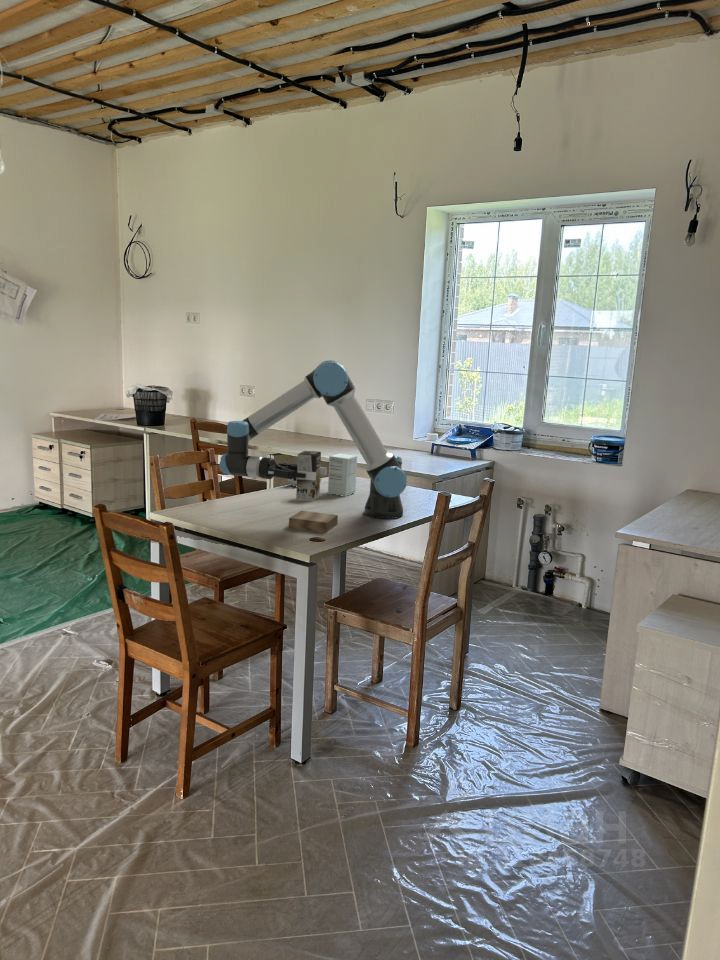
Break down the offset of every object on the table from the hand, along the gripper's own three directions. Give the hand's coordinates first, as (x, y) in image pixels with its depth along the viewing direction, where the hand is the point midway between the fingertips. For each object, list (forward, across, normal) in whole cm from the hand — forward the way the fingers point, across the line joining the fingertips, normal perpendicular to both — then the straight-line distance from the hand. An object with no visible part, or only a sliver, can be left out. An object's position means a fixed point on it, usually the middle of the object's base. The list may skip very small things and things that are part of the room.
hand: (320, 474), depth 232 cm
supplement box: (-12, -59, -20) cm, 63 cm away
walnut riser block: (-3, -3, -20) cm, 21 cm away
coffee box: (-4, 0, -9) cm, 10 cm away
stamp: (-35, -63, -20) cm, 75 cm away
